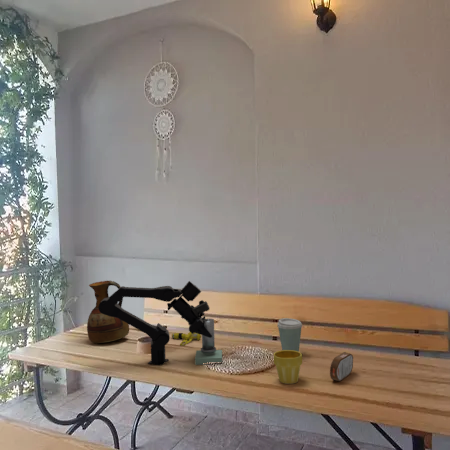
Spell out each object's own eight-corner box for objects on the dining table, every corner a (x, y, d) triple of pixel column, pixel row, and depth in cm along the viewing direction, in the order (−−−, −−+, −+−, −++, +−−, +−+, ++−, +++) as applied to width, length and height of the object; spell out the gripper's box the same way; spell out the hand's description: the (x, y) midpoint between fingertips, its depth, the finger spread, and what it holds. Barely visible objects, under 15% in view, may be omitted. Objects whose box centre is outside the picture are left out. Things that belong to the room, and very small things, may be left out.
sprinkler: (178, 325, 229) (205, 326, 225) (178, 333, 230) (206, 333, 225) (162, 341, 211) (192, 342, 206) (163, 349, 211) (193, 350, 207)
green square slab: (222, 363, 181) (221, 357, 181) (195, 364, 181) (194, 358, 181) (222, 355, 192) (221, 349, 192) (196, 356, 192) (196, 350, 192)
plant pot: (269, 378, 164) (268, 351, 163) (293, 373, 167) (293, 348, 167) (282, 388, 154) (281, 360, 154) (308, 383, 158) (307, 355, 158)
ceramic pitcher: (87, 337, 227) (85, 279, 226) (127, 333, 233) (125, 276, 232) (87, 348, 208) (85, 284, 208) (131, 343, 214) (129, 281, 214)
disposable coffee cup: (306, 352, 193) (305, 318, 192) (299, 360, 183) (298, 324, 182) (282, 350, 197) (281, 316, 197) (274, 357, 187) (273, 322, 187)
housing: (212, 353, 182) (211, 322, 182) (198, 352, 185) (197, 321, 184) (218, 349, 188) (217, 318, 188) (204, 348, 191) (204, 317, 190)
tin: (347, 371, 169) (346, 349, 169) (355, 372, 167) (354, 350, 167) (329, 383, 158) (328, 359, 157) (337, 385, 156) (336, 361, 155)
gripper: (196, 299, 177) (224, 326, 177) (199, 291, 195) (224, 316, 196) (177, 319, 177) (205, 346, 177) (181, 310, 195) (207, 334, 196)
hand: (211, 335), depth 186 cm, fingers closed on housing, 5 cm apart
